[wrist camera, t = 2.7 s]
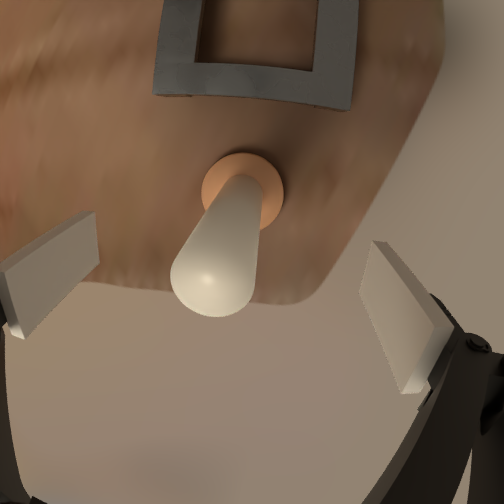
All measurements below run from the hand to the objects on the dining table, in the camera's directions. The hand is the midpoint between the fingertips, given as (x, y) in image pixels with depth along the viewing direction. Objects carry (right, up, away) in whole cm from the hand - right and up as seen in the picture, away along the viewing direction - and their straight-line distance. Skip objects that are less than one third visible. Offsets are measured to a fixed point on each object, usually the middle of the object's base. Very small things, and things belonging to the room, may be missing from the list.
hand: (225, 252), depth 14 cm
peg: (+1, +5, +10) cm, 11 cm away
